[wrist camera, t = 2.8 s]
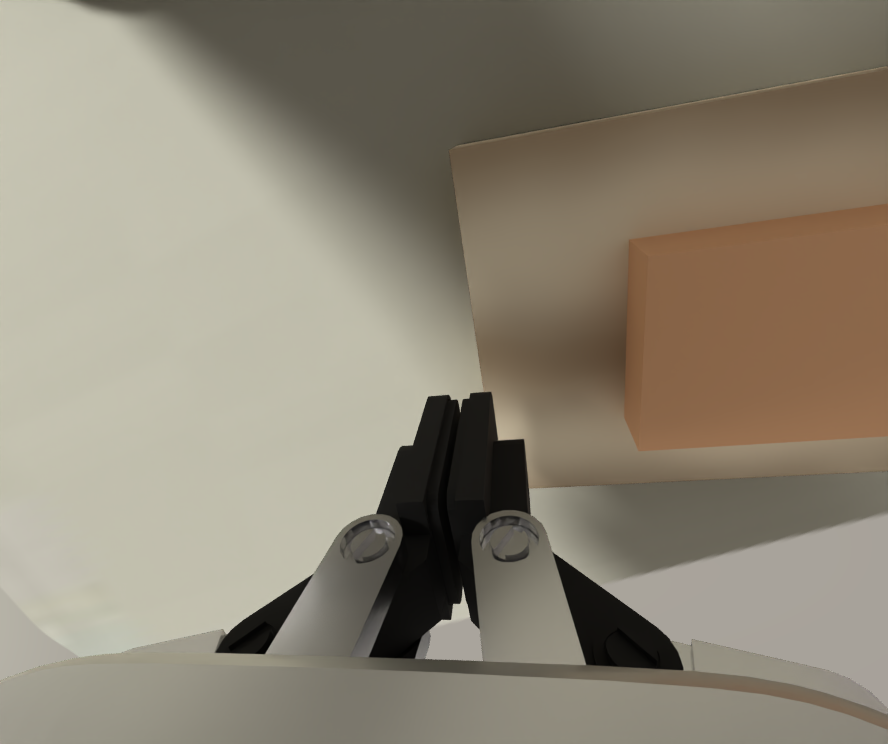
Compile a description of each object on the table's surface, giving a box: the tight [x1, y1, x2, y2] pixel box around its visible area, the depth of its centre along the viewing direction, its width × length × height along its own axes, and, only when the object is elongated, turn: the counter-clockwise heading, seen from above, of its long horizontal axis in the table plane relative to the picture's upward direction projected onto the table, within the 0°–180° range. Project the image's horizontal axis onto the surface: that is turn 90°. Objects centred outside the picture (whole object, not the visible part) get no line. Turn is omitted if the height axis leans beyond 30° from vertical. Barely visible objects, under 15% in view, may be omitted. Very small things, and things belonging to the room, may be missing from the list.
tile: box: [624, 204, 888, 451], centre depth 12 cm, size 6×9×2 cm, turn 100°
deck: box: [449, 66, 888, 488], centre depth 15 cm, size 12×14×3 cm
